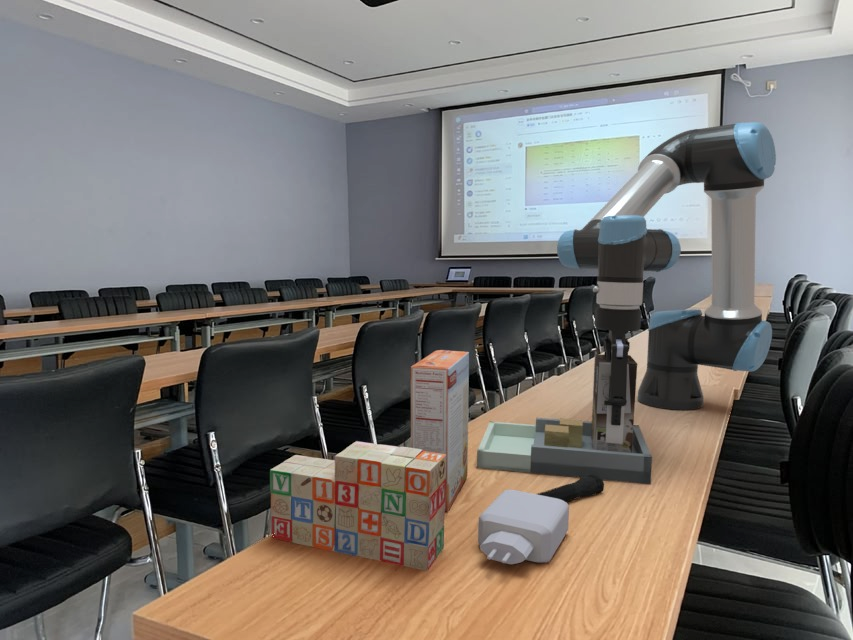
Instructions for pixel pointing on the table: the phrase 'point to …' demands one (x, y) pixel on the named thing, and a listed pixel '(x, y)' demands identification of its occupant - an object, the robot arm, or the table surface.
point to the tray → (506, 447)
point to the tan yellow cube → (556, 436)
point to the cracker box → (442, 413)
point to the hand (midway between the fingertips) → (611, 434)
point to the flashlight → (577, 488)
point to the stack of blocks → (364, 503)
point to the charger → (522, 527)
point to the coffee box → (600, 410)
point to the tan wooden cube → (573, 431)
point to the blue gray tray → (591, 457)
